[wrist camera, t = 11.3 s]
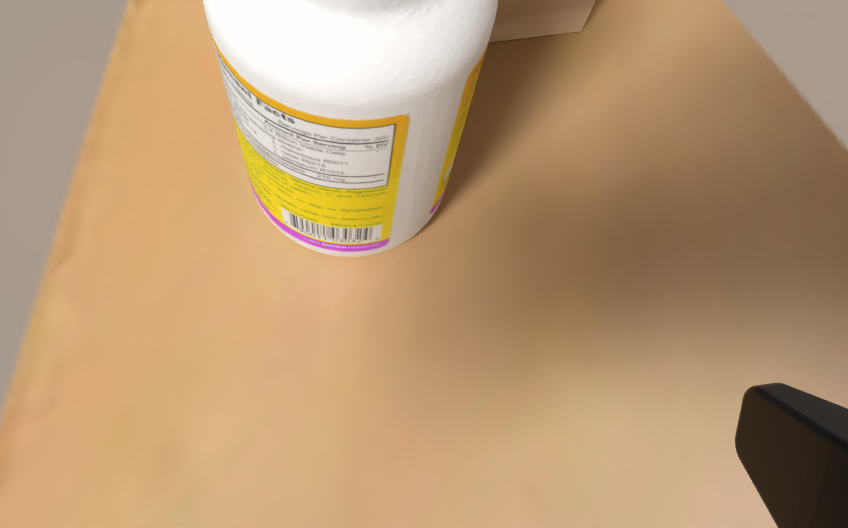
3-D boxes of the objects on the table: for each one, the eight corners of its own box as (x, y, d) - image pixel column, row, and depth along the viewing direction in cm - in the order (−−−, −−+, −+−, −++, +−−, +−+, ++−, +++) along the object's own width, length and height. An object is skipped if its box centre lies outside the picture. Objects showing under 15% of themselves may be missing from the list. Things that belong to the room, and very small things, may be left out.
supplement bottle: (377, 64, 26) (411, -329, 14) (481, 203, 25) (616, -109, 13) (212, 145, 24) (94, -232, 12) (314, 301, 23) (289, 41, 11)
